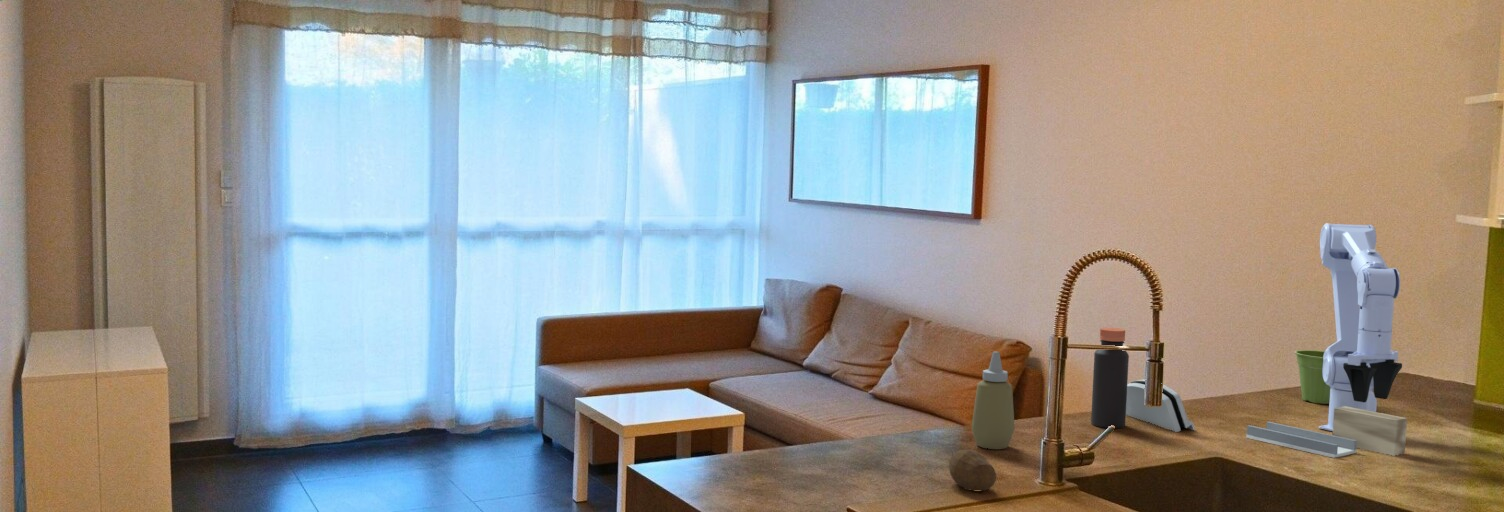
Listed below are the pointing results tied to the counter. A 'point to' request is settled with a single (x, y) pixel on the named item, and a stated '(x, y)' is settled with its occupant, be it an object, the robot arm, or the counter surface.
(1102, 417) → the dark grey water bottle
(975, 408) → the squeeze bottle
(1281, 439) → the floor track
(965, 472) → the potato
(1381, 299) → the robot arm
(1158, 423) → the light blue curved block
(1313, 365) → the plant pot
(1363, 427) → the door panel
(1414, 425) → the counter surface
